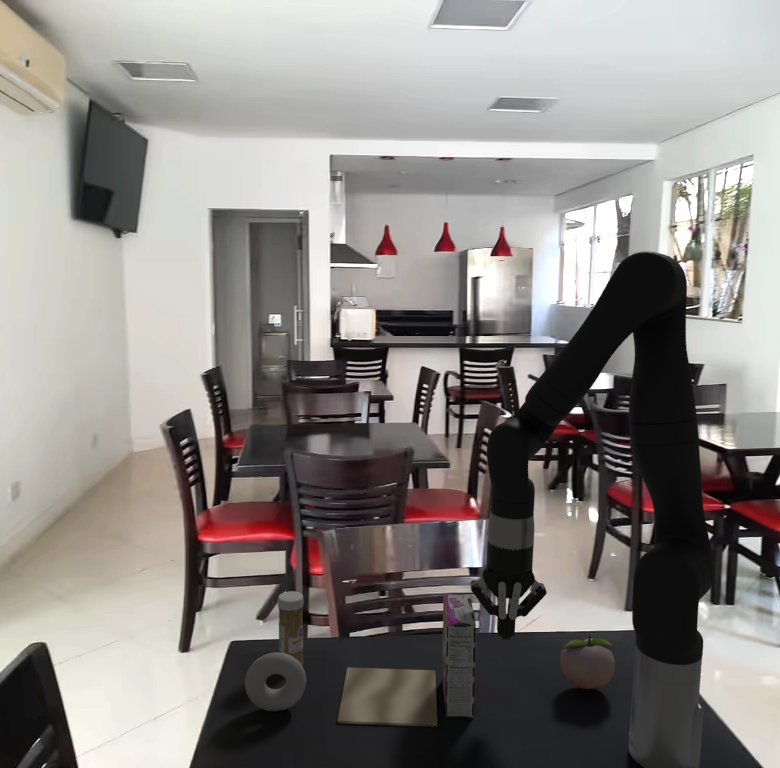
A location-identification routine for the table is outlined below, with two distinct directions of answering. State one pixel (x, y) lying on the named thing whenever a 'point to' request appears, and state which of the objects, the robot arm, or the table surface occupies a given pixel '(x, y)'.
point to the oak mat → (389, 697)
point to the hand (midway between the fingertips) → (505, 637)
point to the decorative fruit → (588, 662)
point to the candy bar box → (458, 655)
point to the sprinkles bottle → (291, 624)
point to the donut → (275, 697)
